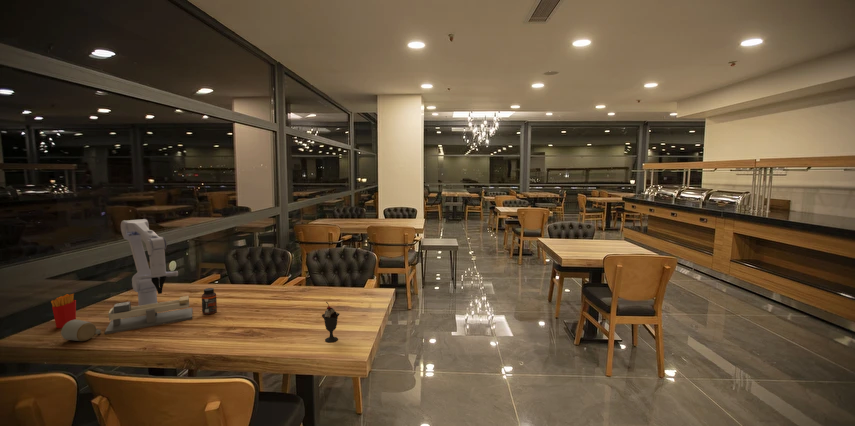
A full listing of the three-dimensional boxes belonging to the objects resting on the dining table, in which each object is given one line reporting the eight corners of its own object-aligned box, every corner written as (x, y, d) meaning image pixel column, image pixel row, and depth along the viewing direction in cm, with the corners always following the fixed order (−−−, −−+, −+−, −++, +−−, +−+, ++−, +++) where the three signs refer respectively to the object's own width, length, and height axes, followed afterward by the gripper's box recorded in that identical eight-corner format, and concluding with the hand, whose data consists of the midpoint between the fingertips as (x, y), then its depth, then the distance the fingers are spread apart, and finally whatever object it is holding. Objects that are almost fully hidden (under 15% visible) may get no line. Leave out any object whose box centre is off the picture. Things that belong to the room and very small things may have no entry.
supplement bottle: (209, 315, 170) (208, 291, 169) (199, 314, 172) (197, 290, 171) (220, 311, 176) (218, 287, 175) (210, 309, 178) (208, 286, 177)
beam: (112, 316, 159) (111, 307, 159) (189, 304, 174) (188, 295, 174) (109, 322, 153) (108, 312, 153) (189, 308, 168) (188, 299, 168)
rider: (116, 312, 159) (115, 303, 159) (131, 310, 162) (130, 301, 161) (114, 316, 155) (113, 306, 155) (129, 313, 158) (128, 304, 157)
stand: (111, 322, 162) (110, 308, 162) (192, 309, 178) (191, 296, 177) (104, 334, 150) (103, 318, 150) (192, 319, 166) (191, 305, 166)
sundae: (324, 336, 148) (323, 299, 147) (341, 335, 149) (340, 299, 147) (320, 343, 142) (319, 305, 140) (338, 343, 142) (337, 305, 141)
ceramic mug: (78, 344, 141) (77, 325, 140) (61, 343, 143) (59, 323, 142) (107, 333, 151) (106, 315, 151) (90, 332, 153) (89, 313, 152)
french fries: (70, 321, 164) (67, 292, 163) (80, 320, 164) (77, 292, 163) (50, 329, 155) (47, 299, 154) (61, 329, 155) (58, 299, 154)
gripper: (136, 267, 161) (139, 298, 163) (176, 263, 169) (178, 292, 170) (138, 264, 167) (140, 294, 168) (177, 260, 175) (179, 288, 176)
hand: (160, 293), depth 170 cm, fingers closed
